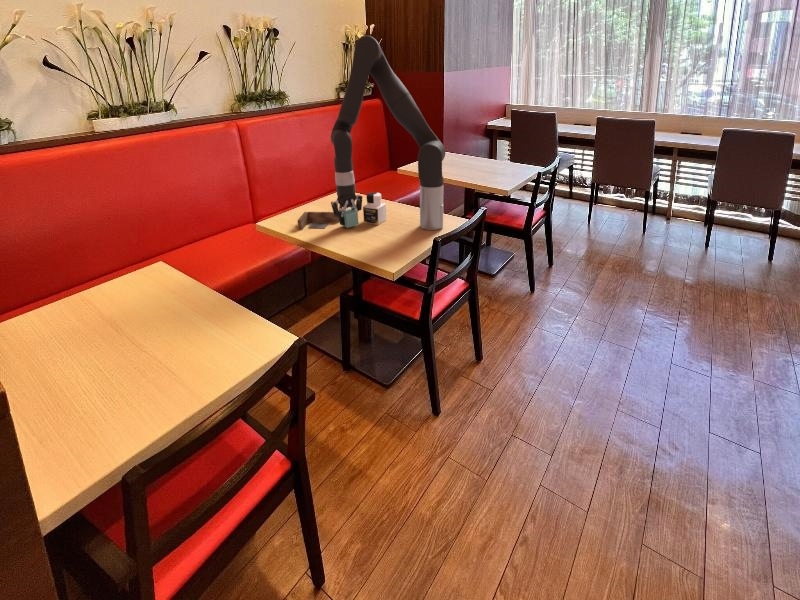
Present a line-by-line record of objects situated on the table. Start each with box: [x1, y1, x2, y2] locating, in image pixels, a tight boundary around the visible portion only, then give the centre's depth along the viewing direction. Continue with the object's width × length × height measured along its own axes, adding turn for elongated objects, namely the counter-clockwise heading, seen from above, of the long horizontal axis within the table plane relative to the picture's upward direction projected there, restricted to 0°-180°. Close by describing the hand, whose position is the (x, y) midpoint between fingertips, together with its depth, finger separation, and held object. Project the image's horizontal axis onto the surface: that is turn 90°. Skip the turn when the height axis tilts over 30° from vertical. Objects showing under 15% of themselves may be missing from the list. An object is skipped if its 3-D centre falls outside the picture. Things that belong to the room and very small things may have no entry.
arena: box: [296, 211, 340, 231], centre depth 201 cm, size 16×11×4 cm
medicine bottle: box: [362, 191, 387, 226], centre depth 201 cm, size 7×7×12 cm
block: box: [339, 208, 360, 229], centre depth 197 cm, size 6×6×6 cm
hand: (349, 223), depth 198 cm, fingers closed on block, 5 cm apart
